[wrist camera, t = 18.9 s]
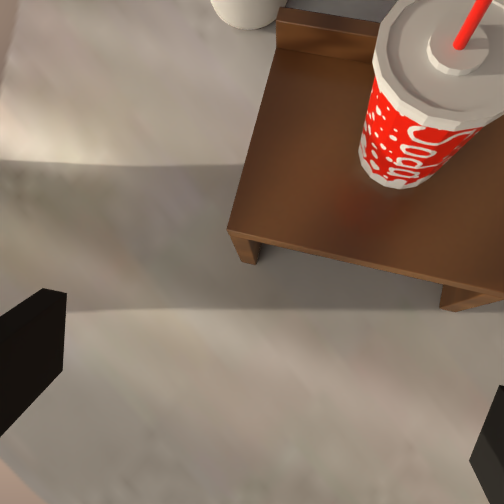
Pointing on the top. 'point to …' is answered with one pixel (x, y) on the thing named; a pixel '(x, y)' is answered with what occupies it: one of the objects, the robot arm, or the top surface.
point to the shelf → (362, 174)
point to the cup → (248, 12)
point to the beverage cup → (431, 86)
